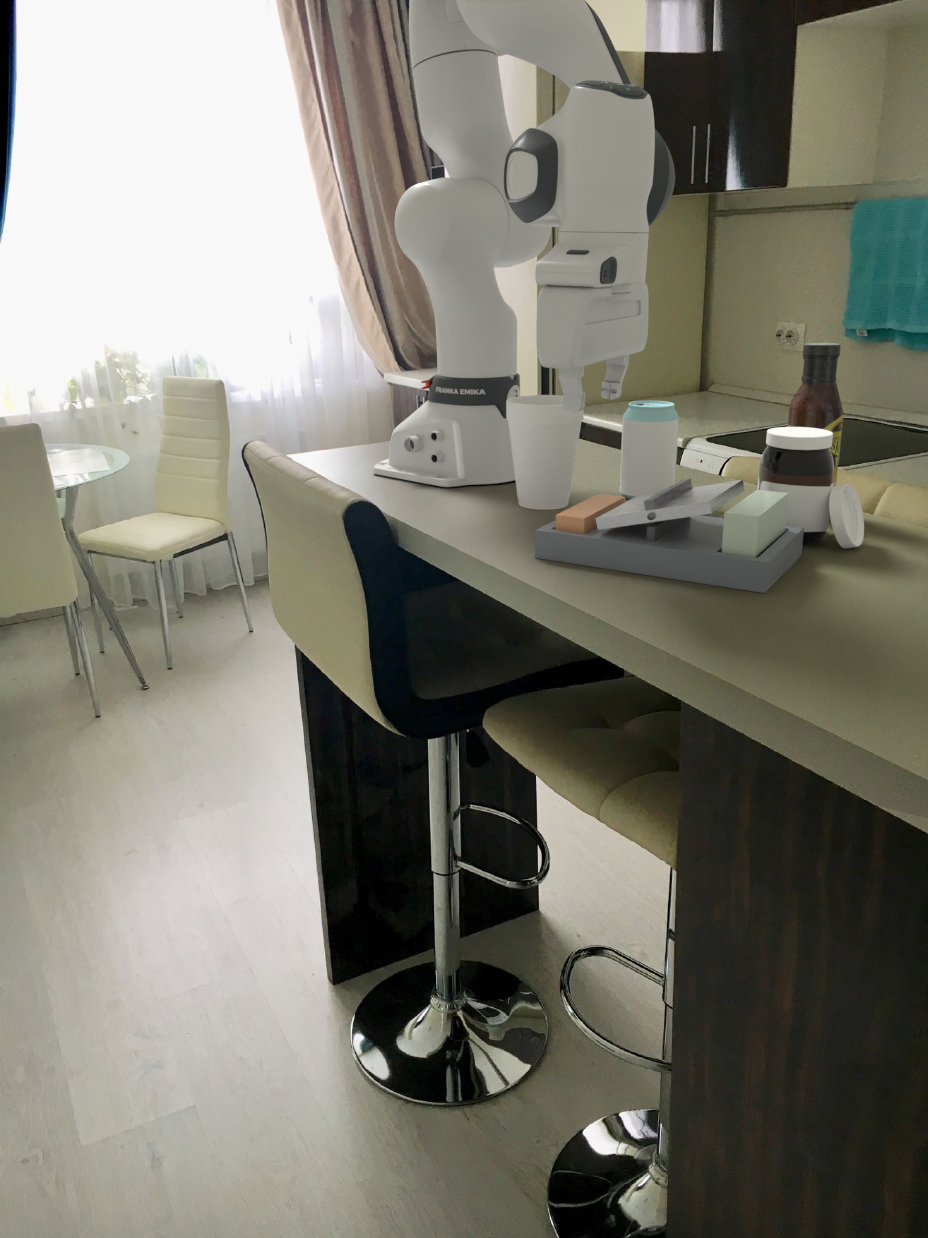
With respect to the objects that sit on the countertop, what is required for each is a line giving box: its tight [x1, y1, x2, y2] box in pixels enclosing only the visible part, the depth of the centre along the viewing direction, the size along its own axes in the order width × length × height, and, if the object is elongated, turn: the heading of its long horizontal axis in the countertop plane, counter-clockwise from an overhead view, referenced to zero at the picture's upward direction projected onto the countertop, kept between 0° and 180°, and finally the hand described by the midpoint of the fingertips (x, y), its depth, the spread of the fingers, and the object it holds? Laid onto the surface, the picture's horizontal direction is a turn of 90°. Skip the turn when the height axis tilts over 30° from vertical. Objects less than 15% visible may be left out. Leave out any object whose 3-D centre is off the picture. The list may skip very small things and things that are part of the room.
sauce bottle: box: [786, 342, 845, 487], centre depth 119 cm, size 6×6×20 cm
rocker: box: [595, 478, 746, 530], centre depth 103 cm, size 12×12×2 cm
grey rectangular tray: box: [534, 515, 804, 594], centre depth 105 cm, size 24×14×4 cm, turn 59°
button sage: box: [721, 489, 788, 557], centre depth 99 cm, size 3×11×4 cm, turn 149°
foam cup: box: [506, 394, 585, 511], centre depth 126 cm, size 10×9×13 cm
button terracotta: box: [555, 493, 626, 534], centre depth 109 cm, size 3×11×4 cm, turn 149°
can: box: [619, 400, 680, 500], centre depth 129 cm, size 7×7×12 cm
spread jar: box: [756, 426, 865, 549], centre depth 109 cm, size 12×11×12 cm
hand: (592, 404), depth 105 cm, fingers open, 8 cm apart
